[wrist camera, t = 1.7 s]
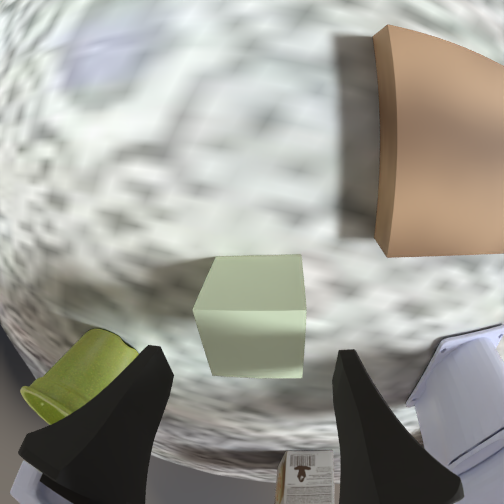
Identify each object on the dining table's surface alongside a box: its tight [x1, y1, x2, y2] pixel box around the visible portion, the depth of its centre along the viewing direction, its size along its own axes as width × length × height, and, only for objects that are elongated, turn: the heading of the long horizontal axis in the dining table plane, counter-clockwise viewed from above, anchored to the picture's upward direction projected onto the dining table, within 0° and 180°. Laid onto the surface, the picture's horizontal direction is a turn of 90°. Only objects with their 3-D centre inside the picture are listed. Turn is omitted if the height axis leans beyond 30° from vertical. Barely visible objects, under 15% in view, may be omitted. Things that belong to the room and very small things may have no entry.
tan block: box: [373, 25, 504, 258], centre depth 9 cm, size 10×10×2 cm
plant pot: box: [20, 329, 139, 425], centre depth 16 cm, size 9×9×9 cm
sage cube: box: [192, 254, 307, 378], centre depth 13 cm, size 4×4×4 cm
